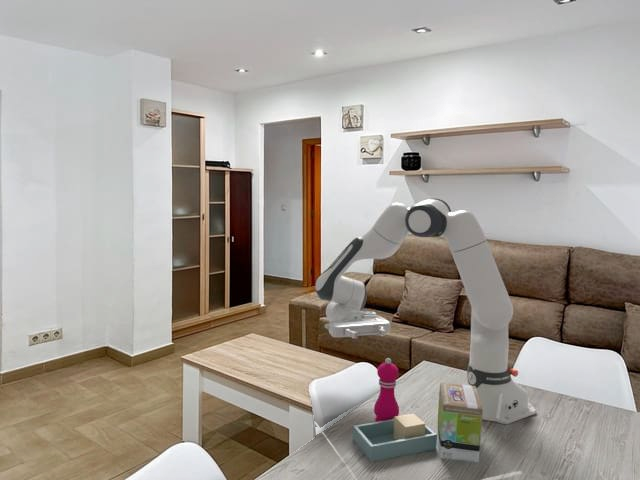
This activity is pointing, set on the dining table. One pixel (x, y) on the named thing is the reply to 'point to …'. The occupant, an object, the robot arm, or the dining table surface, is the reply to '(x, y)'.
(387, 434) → the box
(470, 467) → the dining table surface
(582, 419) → the dining table surface
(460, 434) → the tea box
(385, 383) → the pepper mill
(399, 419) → the tan wooden cube
